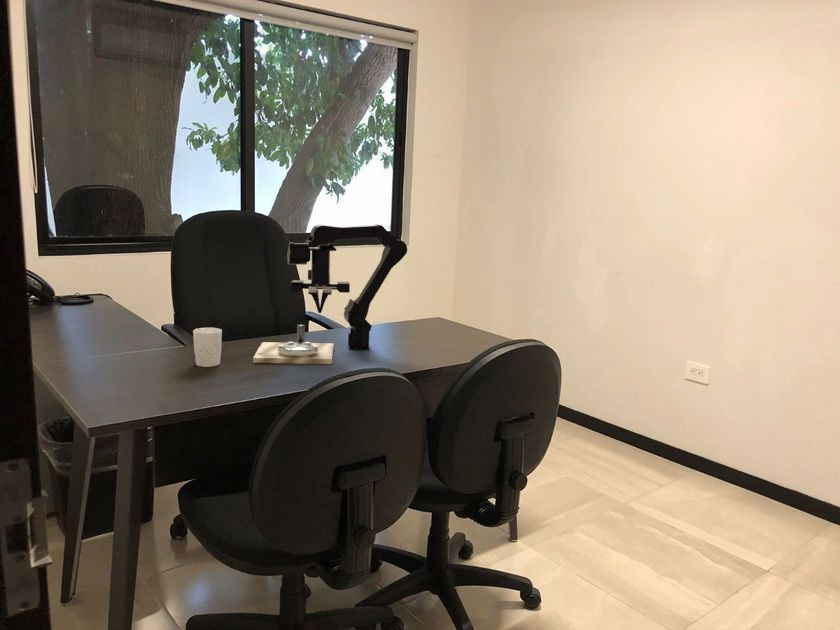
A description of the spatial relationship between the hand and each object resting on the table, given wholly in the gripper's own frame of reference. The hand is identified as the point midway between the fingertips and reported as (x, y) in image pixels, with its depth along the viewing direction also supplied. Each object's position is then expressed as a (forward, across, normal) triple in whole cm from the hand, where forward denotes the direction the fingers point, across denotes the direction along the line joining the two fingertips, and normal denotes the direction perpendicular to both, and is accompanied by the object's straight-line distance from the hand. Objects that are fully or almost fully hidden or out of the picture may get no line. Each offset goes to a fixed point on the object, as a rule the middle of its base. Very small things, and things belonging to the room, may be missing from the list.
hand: (319, 312), depth 208 cm
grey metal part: (+10, +6, +8) cm, 14 cm away
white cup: (+12, +31, +20) cm, 39 cm away
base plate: (+12, +7, +8) cm, 16 cm away
